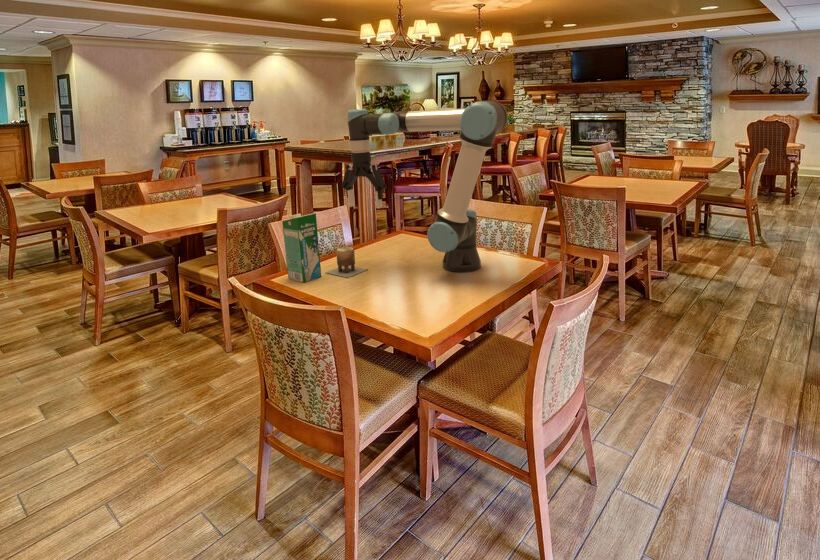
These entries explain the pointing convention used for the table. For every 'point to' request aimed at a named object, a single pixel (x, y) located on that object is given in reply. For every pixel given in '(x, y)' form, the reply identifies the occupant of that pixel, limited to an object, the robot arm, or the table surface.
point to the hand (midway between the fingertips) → (365, 207)
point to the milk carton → (302, 247)
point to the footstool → (345, 258)
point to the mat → (346, 275)
